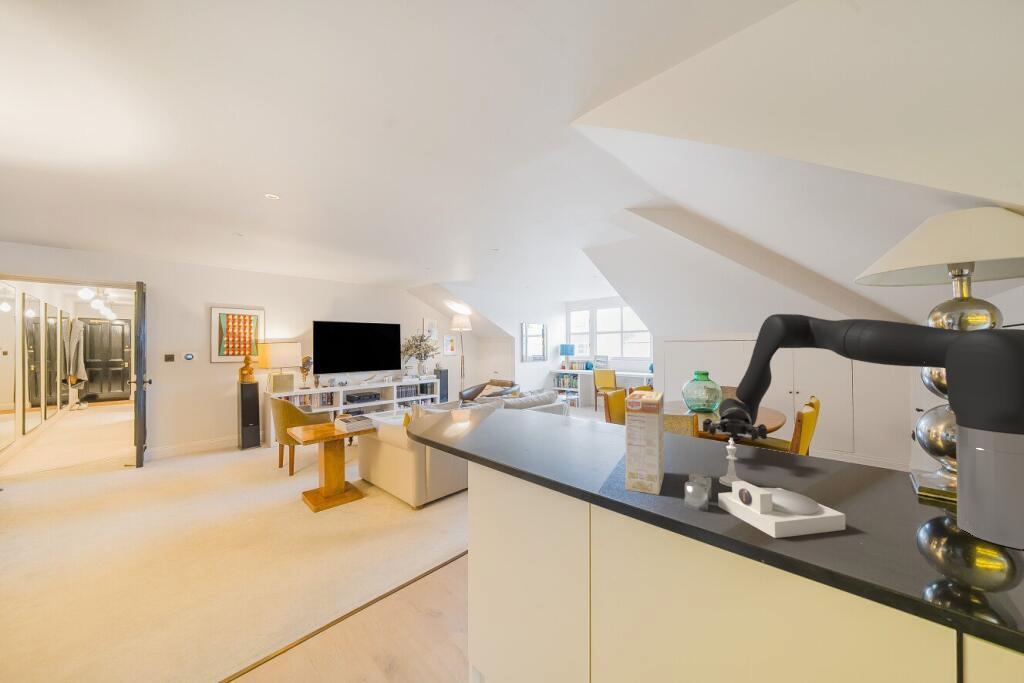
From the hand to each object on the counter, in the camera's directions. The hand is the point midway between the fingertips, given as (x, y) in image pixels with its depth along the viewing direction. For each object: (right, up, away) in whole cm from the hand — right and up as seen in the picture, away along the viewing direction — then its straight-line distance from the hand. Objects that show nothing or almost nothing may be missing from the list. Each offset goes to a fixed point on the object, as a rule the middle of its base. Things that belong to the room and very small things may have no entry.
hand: (732, 433), depth 93 cm
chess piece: (-6, -9, -9) cm, 14 cm away
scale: (-7, -8, -26) cm, 28 cm away
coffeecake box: (-24, -9, -8) cm, 27 cm away
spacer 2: (-19, -9, -21) cm, 30 cm away
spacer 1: (-16, -9, -17) cm, 25 cm away
